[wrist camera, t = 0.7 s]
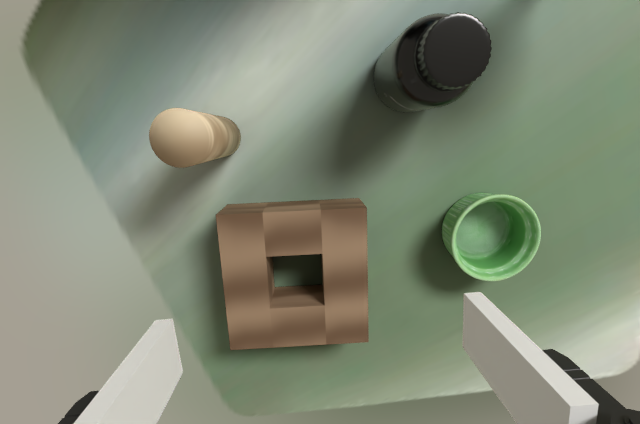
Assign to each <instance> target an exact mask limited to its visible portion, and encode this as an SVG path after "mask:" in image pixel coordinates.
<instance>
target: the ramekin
mask: <svg viewBox="0 0 640 424" xmlns="http://www.w3.org/2000/svg"><path fill="white" fill-rule="evenodd" d="M442 238H443V242H444V244H445V247H446V248H447V250H448V252H449V253H450V254H451V255H452V256H453V258H454V260H455V262H456V263H457V265H458V266H459V267H460V268H461V269H462V270H463V271H464V272H465V273H466V274H468V275H469V276H471V277H473V278H476V279H479V280H483V281H499V280H503V279H507V278H509V277H512V276H514V275H516V274H517V273H519V272H520V271H521V270H523V269H524V268H525V267H526V266H527V265H528V264H529V263H530V261H531V260H532V259H533V257H534V256H535V254H536V252H537V249H538V247H539V243H540V238H541V228H540V223H539V220H538V217H537V215H536V213H535V212H534V210H533V209H532V208H531V207H530V206H529V205H528V204H527V203H526V202H524V201H523V200H521V199H519V198H517V197H514V196H511V195H505V194H491V193H475V194H471V195H468V196H465V197H463V198H462V199H460V200H458V201H457V202H456V203H455V204H454V205H453V206H452V207H451V208H450V209H449V211H448V212H447V214H446V216H445V218H444V221H443V225H442Z"/></svg>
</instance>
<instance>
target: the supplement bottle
mask: <svg viewBox="0 0 640 424" xmlns="http://www.w3.org/2000/svg"><path fill="white" fill-rule="evenodd" d="M490 52H491V40H490V34H489V33H488V32H487V28H486V27H484V25H483V23H482V22H480V21H479V20H478V18H475V17H473V16H472V15H468V14H466V13H462V14H461V13H459V12H457V13H455V14H431V15H428V16H425V17H422V18H420V19H418V20H417V21H415V22H414V23H413V24H411V25H410V26H409V27H408V28H407V29H406V30H405V31H404V32H403V33H401V34H400V35H399V36H398V37H397V38H396V39H395V40H394V41H393V42H392V43H391V44H390V45H389V46H388V47H387V48H386V49H385V51H384V52H383V53H382V54H381V56H380V57H379V59H378V61H377V63H376V66H375V70H374V86H375V89H376V92H377V94H378V96H379V98H380V99H381V101H382V102H383V103H384V104H385V105H387V106H388V107H389V108H391V109H393V110H396V111H400V112H414V111H420V110H425V109H431V108H436V107H441V106H445V105H448V104H450V103H452V102H454V101H456V100H457V99H459V98H460V97H461V96H463V95H464V94H465V93H466V92H467V91H468V89H469V88H470V87H471V85H472V84H473V82H474V81H475V80H476V79H477V77H479V76H481V74H482V72H483V71H484V70H485V68H486V66H487V64H488V63H489V58H490V56H491V54H490Z"/></svg>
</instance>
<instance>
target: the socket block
mask: <svg viewBox="0 0 640 424" xmlns="http://www.w3.org/2000/svg"><path fill="white" fill-rule="evenodd" d="M216 222H217V231H218V241H219V250H220V259H221V268H222V277H223V286H224V296H225V305H226V314H227V323H228V332H229V341H230V350H240V349H257V348H274V347H291V346H308V345H325V344H342V343H359V342H368V267H367V207H366V206H365V205H364V204H363V202H362V201H361V200H360V199H359V198H352V199H331V200H310V201H289V202H268V203H247V204H228V205H226V206H225V207H224V208H223V209H222V210H221V211H220V212H219V213H217V214H216ZM309 254H321V260H322V283H323V285H305V286H286V287H275V286H274V272H273V259H272V256H290V255H309Z"/></svg>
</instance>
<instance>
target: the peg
mask: <svg viewBox="0 0 640 424" xmlns="http://www.w3.org/2000/svg"><path fill="white" fill-rule="evenodd" d="M149 139H150V144H151V147H152V149H153V151H154V152H155V154H156V155H157V156H158V158H159V159H161V160H162V161H163V162H164V163H166V164H168V165H170V166H174V167H179V168H184V167H189V166H193V165H197V164H200V163H204V162H208V161H211V160H215V159H219V158H222V157H226V156H229V155H231V154H233V153H234V152H235V151H236V150H237V149H238V147H239V145H240V141H241V135H240V131H239V129H238V127H237V125H236V124H235V123H234V122H233V121H231V120H230V119H228V118H225V117H221V116H216V115H211V114H206V113H201V112H197V111H192V110H187V109H182V108H171V109H167V110H165V111H163V112H161V113H160V114H159V115H157V117H156V118H155V119H154V120H153V122H152V124H151V127H150V132H149Z"/></svg>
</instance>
